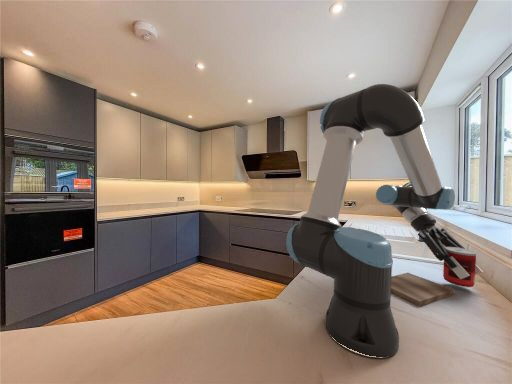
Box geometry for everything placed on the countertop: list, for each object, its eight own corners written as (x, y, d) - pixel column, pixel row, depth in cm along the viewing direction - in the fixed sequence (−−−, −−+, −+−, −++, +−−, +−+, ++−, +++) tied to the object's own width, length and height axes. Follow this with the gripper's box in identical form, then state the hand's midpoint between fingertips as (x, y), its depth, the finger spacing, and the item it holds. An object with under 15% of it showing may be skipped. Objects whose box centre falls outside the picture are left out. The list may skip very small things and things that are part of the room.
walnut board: (420, 306, 59) (420, 301, 59) (374, 284, 72) (374, 280, 72) (454, 294, 66) (454, 289, 66) (407, 276, 79) (407, 272, 79)
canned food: (460, 277, 75) (461, 247, 74) (482, 288, 67) (483, 254, 66) (437, 276, 75) (438, 246, 75) (455, 286, 67) (457, 253, 67)
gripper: (426, 222, 89) (476, 275, 74) (394, 225, 81) (443, 285, 66) (442, 211, 84) (499, 266, 69) (410, 213, 76) (466, 275, 61)
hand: (472, 275), depth 68 cm, fingers closed on canned food, 8 cm apart
